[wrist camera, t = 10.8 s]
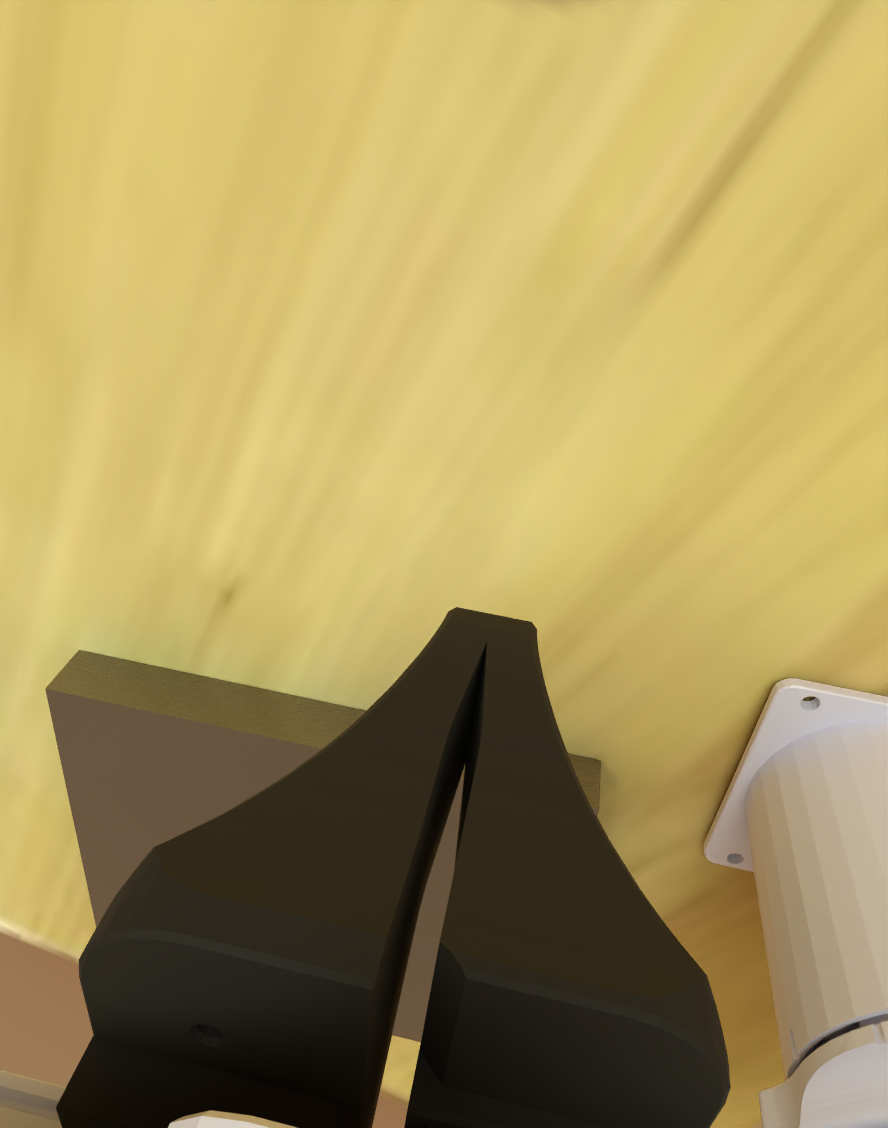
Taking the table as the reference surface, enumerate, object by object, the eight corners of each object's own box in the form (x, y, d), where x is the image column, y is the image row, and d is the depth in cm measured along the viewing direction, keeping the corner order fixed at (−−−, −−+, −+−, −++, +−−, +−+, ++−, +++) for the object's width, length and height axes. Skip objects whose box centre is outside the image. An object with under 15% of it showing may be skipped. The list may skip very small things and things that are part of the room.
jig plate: (600, 760, 27) (598, 808, 25) (521, 1017, 36) (516, 1065, 34) (78, 650, 29) (45, 688, 27) (127, 922, 38) (104, 963, 36)
